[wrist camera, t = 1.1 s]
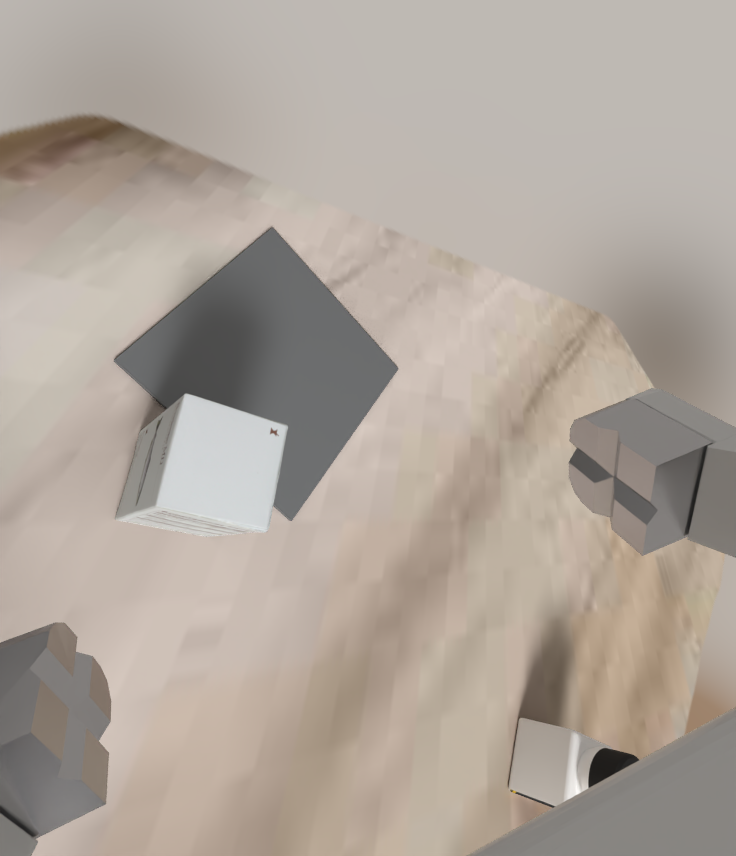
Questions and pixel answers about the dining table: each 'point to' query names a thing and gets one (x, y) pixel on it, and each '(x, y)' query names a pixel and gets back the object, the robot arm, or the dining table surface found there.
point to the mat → (269, 359)
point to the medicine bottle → (559, 762)
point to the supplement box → (204, 470)
